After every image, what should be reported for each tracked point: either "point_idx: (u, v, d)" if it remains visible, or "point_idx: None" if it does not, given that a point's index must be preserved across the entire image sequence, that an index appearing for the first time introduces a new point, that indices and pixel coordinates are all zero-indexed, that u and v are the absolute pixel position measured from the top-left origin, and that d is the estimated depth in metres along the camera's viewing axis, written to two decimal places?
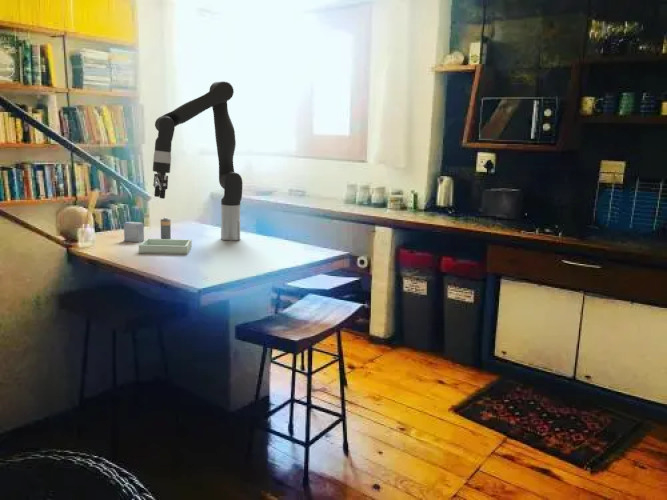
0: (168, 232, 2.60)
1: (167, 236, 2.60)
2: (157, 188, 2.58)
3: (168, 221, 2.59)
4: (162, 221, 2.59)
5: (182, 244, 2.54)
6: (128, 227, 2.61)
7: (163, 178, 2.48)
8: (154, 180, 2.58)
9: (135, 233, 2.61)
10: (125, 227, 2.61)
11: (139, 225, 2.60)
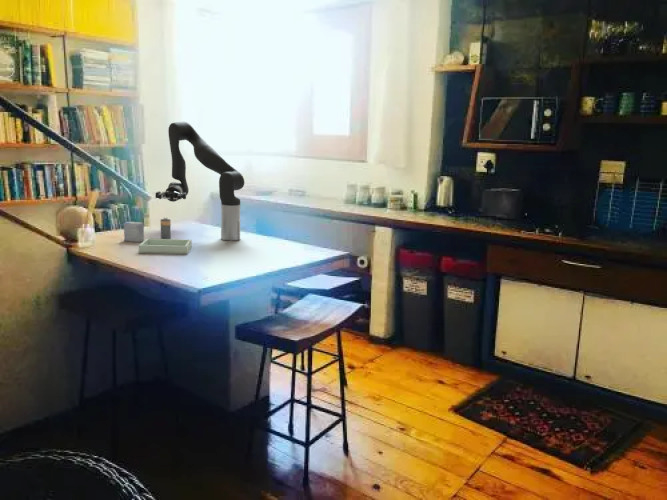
0: (168, 232, 2.60)
1: (167, 236, 2.60)
2: None
3: (168, 221, 2.59)
4: (162, 221, 2.59)
5: (182, 244, 2.54)
6: (128, 227, 2.61)
7: None
8: None
9: (135, 232, 2.61)
10: (125, 227, 2.61)
11: (139, 225, 2.60)
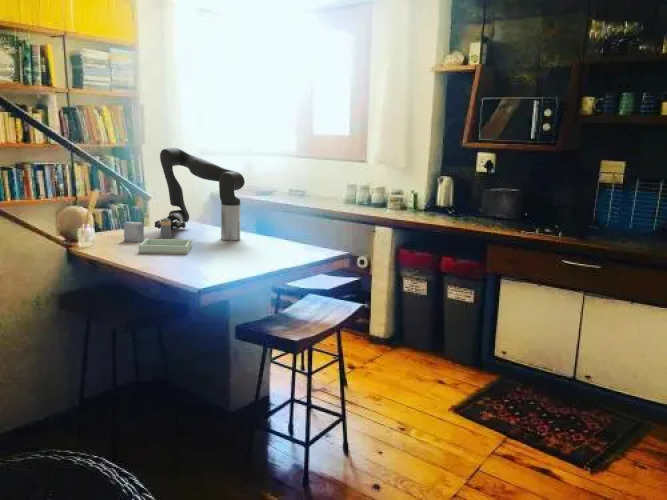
0: (168, 232, 2.60)
1: (167, 236, 2.60)
2: None
3: (168, 221, 2.59)
4: (162, 221, 2.59)
5: (182, 244, 2.54)
6: (128, 227, 2.61)
7: None
8: None
9: (135, 233, 2.61)
10: (125, 227, 2.61)
11: (139, 225, 2.60)
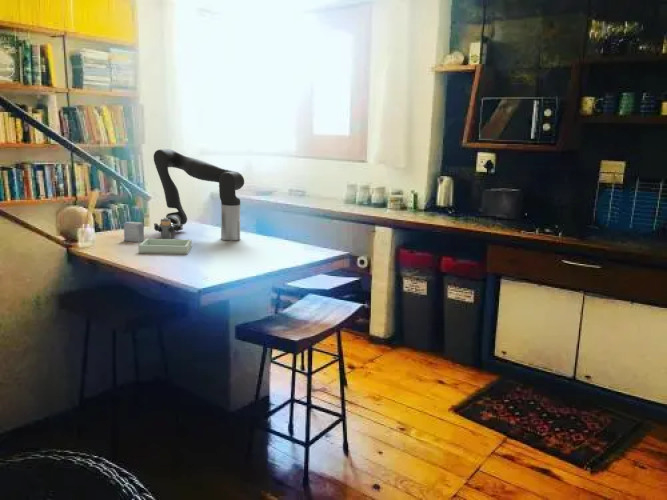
0: (168, 232, 2.60)
1: (167, 236, 2.60)
2: None
3: (168, 221, 2.59)
4: (162, 221, 2.59)
5: (182, 244, 2.54)
6: (128, 227, 2.61)
7: (154, 228, 2.67)
8: None
9: (135, 232, 2.61)
10: (125, 227, 2.61)
11: (139, 225, 2.60)
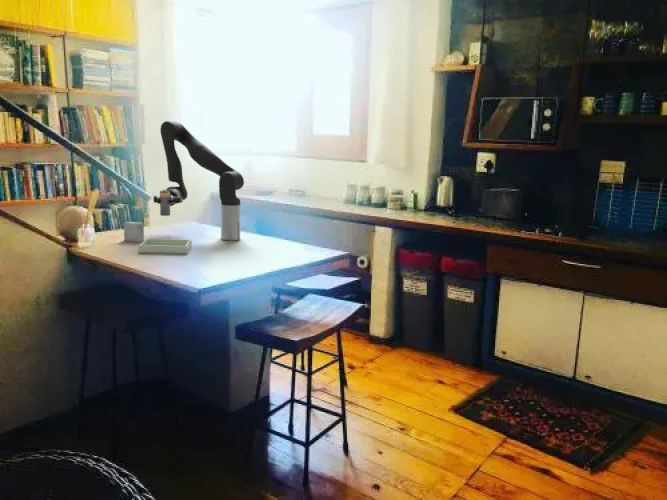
0: (167, 204, 2.55)
1: (166, 208, 2.55)
2: None
3: (167, 193, 2.54)
4: (161, 192, 2.54)
5: (182, 244, 2.54)
6: (128, 227, 2.61)
7: (153, 200, 2.62)
8: (177, 202, 2.62)
9: (135, 233, 2.61)
10: (125, 227, 2.61)
11: (139, 225, 2.60)
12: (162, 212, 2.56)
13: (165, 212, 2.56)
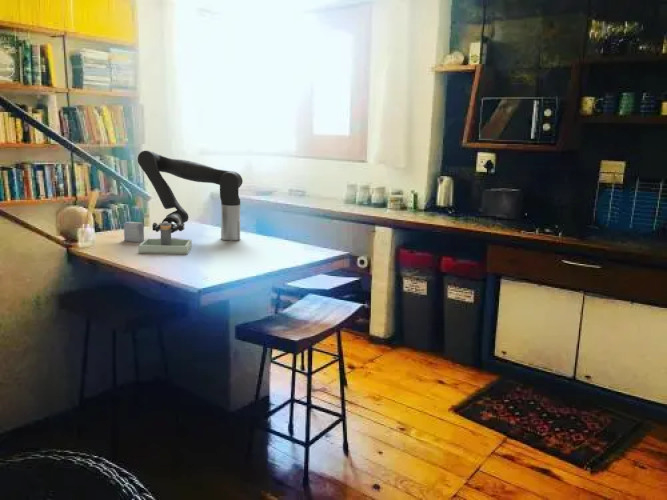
0: (168, 237, 2.45)
1: (167, 241, 2.45)
2: None
3: (168, 225, 2.44)
4: (162, 225, 2.43)
5: (182, 244, 2.54)
6: (128, 227, 2.61)
7: None
8: None
9: (135, 232, 2.61)
10: (125, 227, 2.61)
11: (139, 225, 2.60)
12: None
13: None
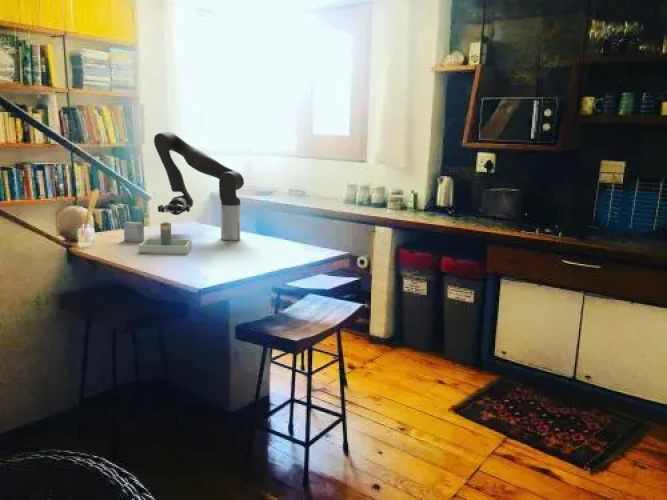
0: (168, 237, 2.45)
1: (167, 241, 2.45)
2: None
3: (168, 225, 2.44)
4: (162, 225, 2.43)
5: (182, 244, 2.54)
6: (128, 227, 2.61)
7: None
8: None
9: (135, 232, 2.61)
10: (125, 227, 2.61)
11: (139, 225, 2.60)
12: None
13: None
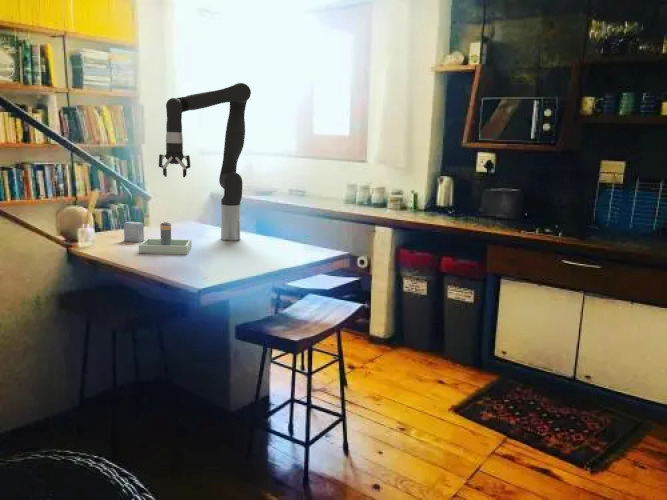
0: (168, 237, 2.45)
1: (167, 241, 2.45)
2: (165, 168, 2.65)
3: (168, 225, 2.44)
4: (162, 225, 2.43)
5: (182, 244, 2.54)
6: (128, 227, 2.61)
7: (189, 158, 2.64)
8: (161, 161, 2.62)
9: (135, 232, 2.61)
10: (125, 227, 2.61)
11: (139, 225, 2.60)
12: None
13: None
